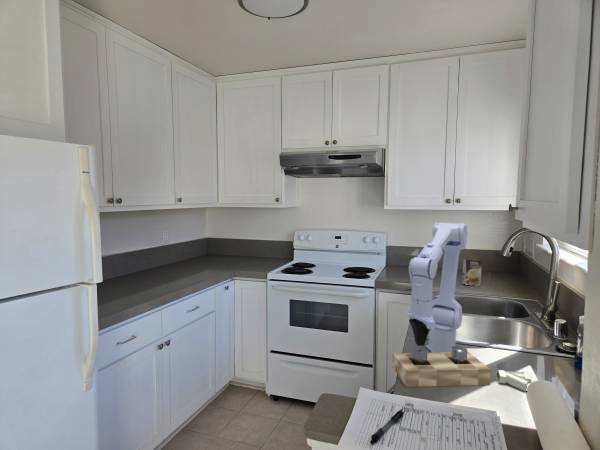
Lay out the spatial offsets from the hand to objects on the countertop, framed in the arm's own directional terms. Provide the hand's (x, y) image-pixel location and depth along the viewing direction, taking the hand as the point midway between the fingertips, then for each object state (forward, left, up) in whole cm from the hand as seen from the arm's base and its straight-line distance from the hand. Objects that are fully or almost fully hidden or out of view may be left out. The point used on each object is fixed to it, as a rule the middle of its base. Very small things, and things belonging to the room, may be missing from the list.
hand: (420, 344), depth 108 cm
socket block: (0, +6, -9) cm, 11 cm away
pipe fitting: (+7, +25, -10) cm, 28 cm away
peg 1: (0, 0, -6) cm, 6 cm away
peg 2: (0, +12, -6) cm, 13 cm away
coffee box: (-114, +79, -10) cm, 139 cm away
